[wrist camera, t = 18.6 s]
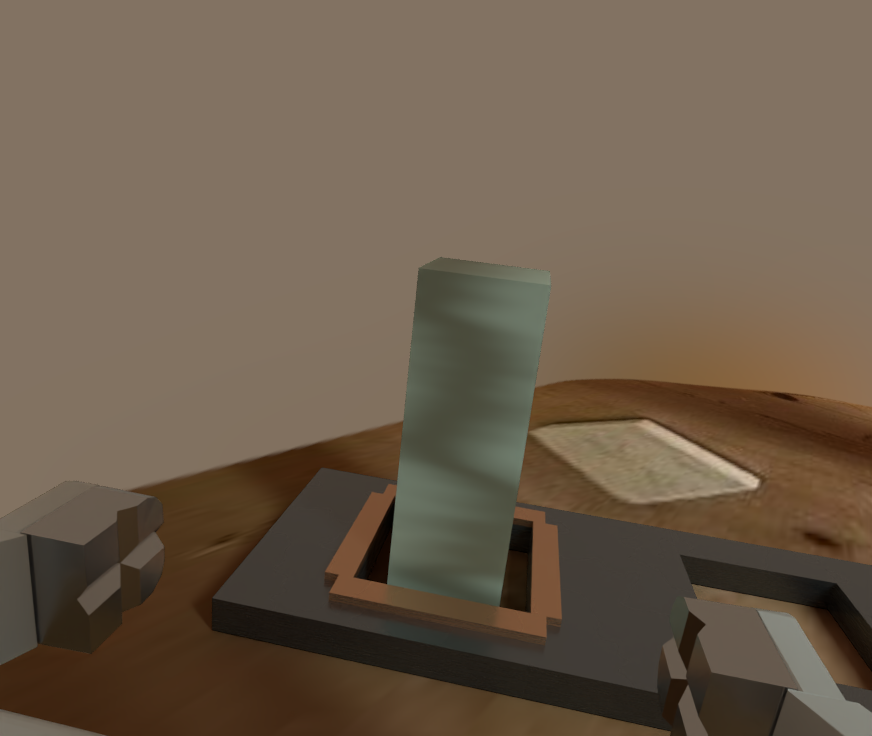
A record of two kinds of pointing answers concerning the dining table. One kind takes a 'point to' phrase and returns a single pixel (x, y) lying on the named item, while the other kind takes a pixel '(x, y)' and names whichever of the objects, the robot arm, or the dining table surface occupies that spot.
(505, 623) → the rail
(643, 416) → the dining table surface
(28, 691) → the dining table surface
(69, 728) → the robot arm
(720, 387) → the dining table surface
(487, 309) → the peg
